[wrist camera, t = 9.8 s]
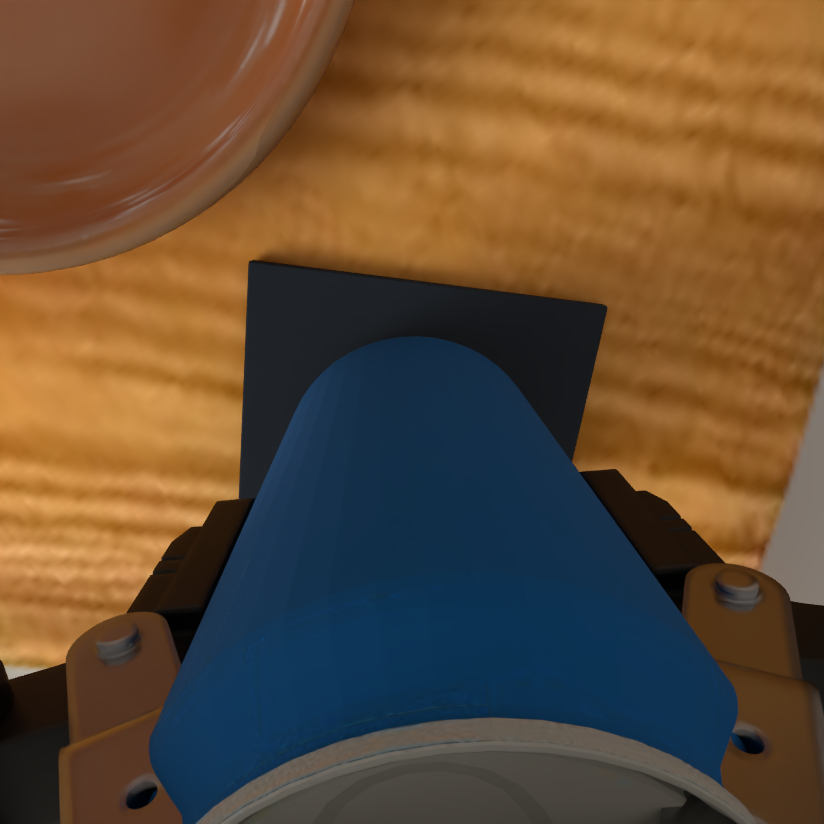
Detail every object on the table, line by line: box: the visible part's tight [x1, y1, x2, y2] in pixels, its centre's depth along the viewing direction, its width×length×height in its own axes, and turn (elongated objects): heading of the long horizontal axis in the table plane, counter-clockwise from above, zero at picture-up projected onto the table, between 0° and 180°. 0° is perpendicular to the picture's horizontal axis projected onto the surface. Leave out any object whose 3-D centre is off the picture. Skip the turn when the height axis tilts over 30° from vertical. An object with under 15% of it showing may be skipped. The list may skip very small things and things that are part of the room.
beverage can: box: [148, 336, 757, 824], centre depth 11 cm, size 6×6×12 cm
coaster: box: [239, 260, 607, 499], centre depth 16 cm, size 9×9×1 cm
